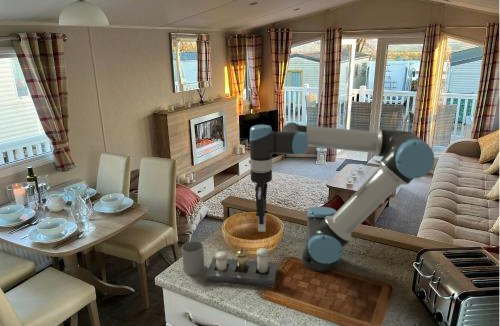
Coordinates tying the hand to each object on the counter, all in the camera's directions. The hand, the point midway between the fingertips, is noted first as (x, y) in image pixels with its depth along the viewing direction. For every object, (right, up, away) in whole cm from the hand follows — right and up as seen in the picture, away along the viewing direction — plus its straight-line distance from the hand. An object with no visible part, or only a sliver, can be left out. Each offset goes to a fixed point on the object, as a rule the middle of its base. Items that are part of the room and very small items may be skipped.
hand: (261, 230), depth 136 cm
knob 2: (+1, -16, +5) cm, 17 cm away
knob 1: (-15, -18, +8) cm, 25 cm away
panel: (-7, -19, +7) cm, 21 cm away
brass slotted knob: (-7, -16, +6) cm, 18 cm away
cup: (-27, -18, +12) cm, 34 cm away
